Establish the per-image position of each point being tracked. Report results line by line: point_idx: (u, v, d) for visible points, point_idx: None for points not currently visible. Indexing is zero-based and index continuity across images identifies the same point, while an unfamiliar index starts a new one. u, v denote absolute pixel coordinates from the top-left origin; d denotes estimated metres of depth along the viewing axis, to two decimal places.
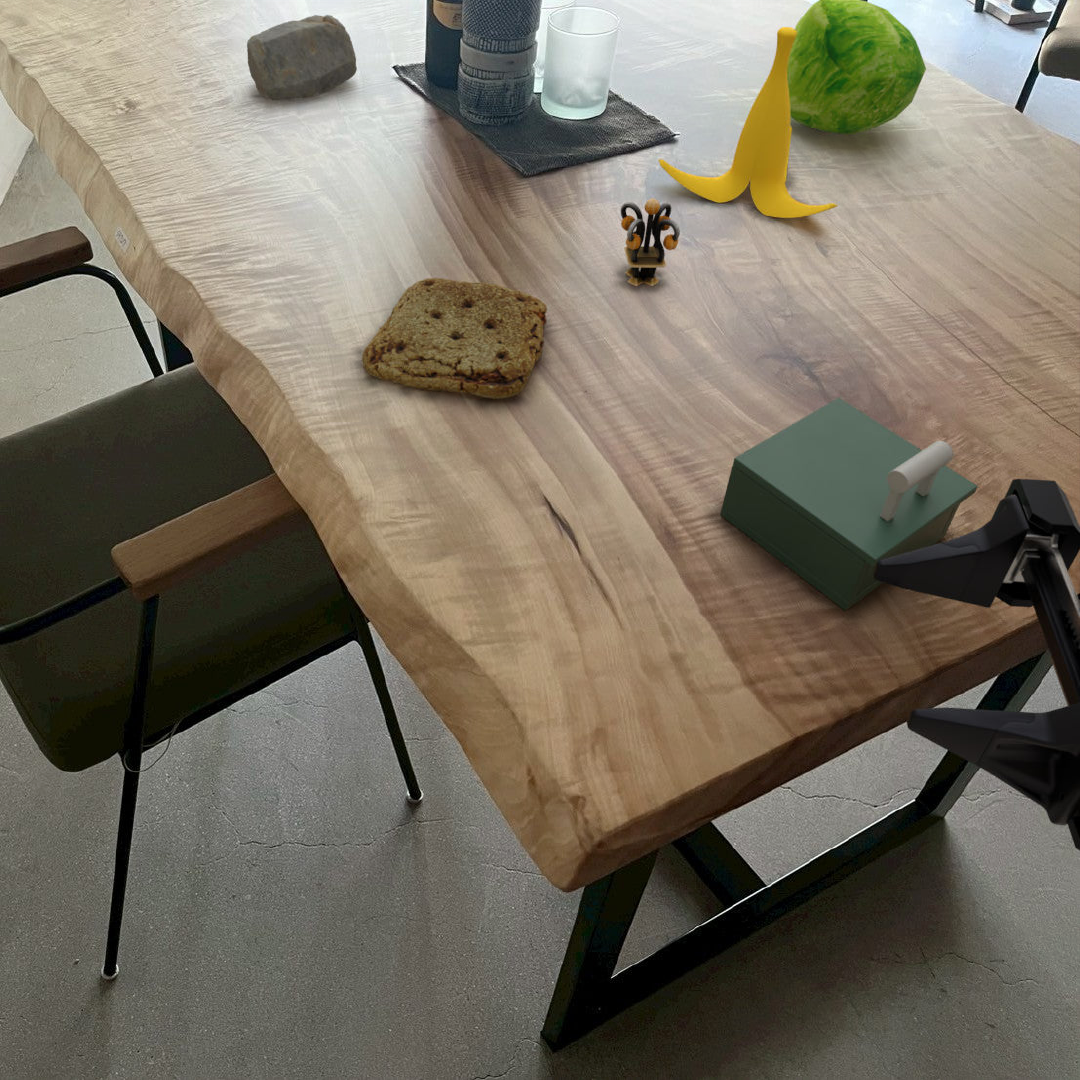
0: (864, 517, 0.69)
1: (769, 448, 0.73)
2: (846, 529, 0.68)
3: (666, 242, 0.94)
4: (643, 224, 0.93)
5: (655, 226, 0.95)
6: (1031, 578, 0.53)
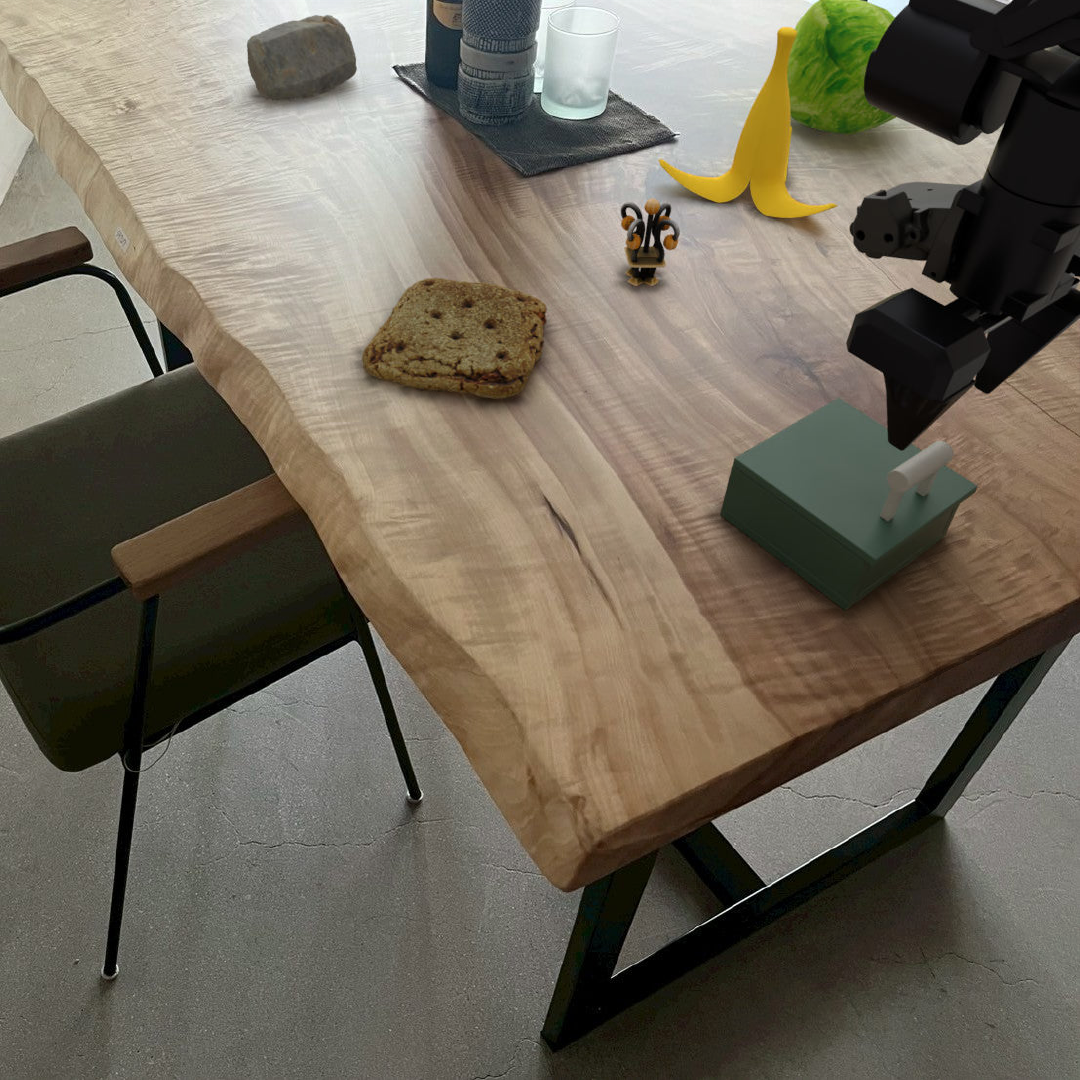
0: (864, 517, 0.69)
1: (769, 448, 0.73)
2: (846, 529, 0.68)
3: (666, 242, 0.94)
4: (643, 224, 0.93)
5: (655, 226, 0.95)
6: None
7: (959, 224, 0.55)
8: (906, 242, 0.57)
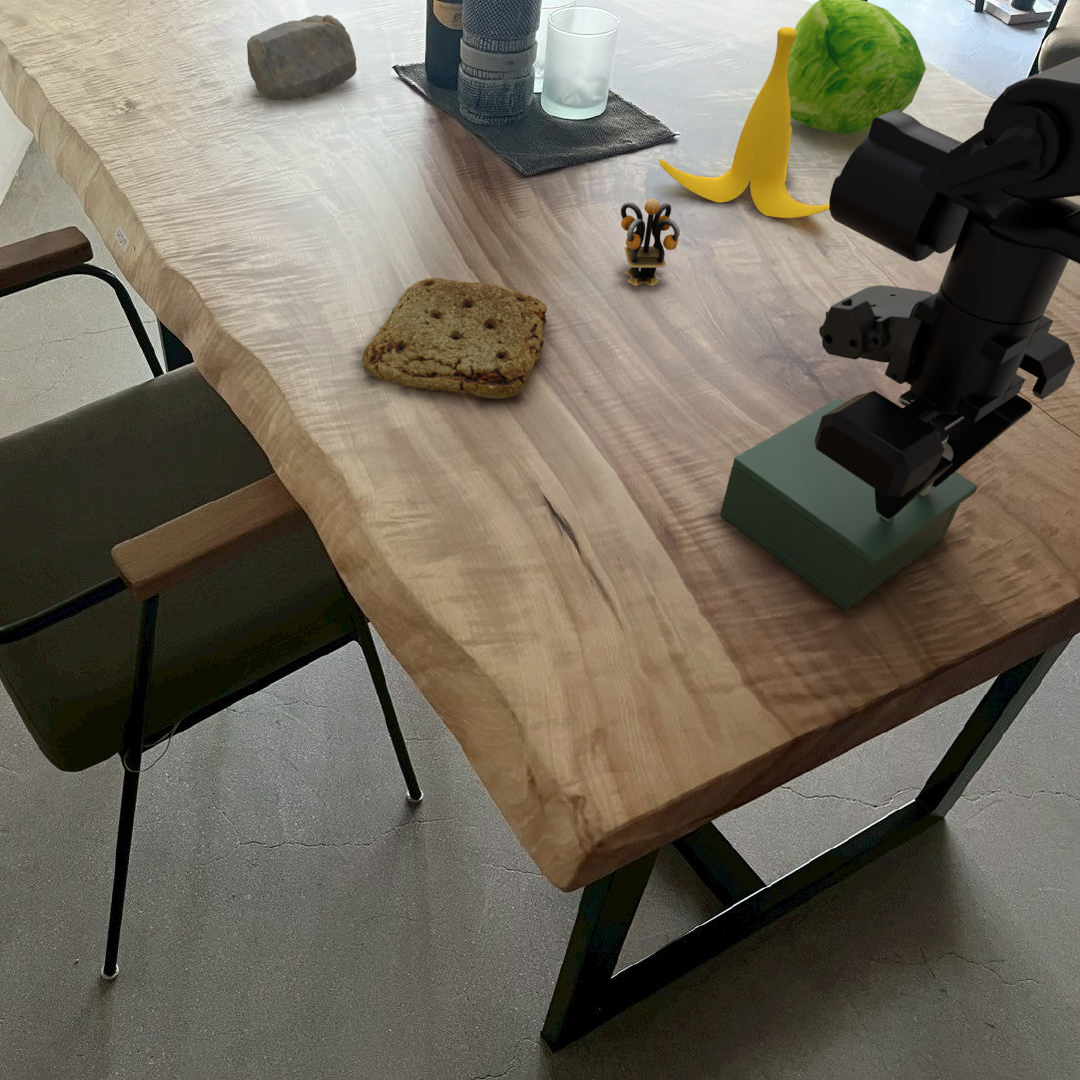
0: (864, 517, 0.69)
1: (769, 448, 0.73)
2: (846, 529, 0.68)
3: (666, 242, 0.94)
4: (643, 224, 0.93)
5: (655, 226, 0.95)
6: None
7: (917, 333, 0.61)
8: (869, 347, 0.62)
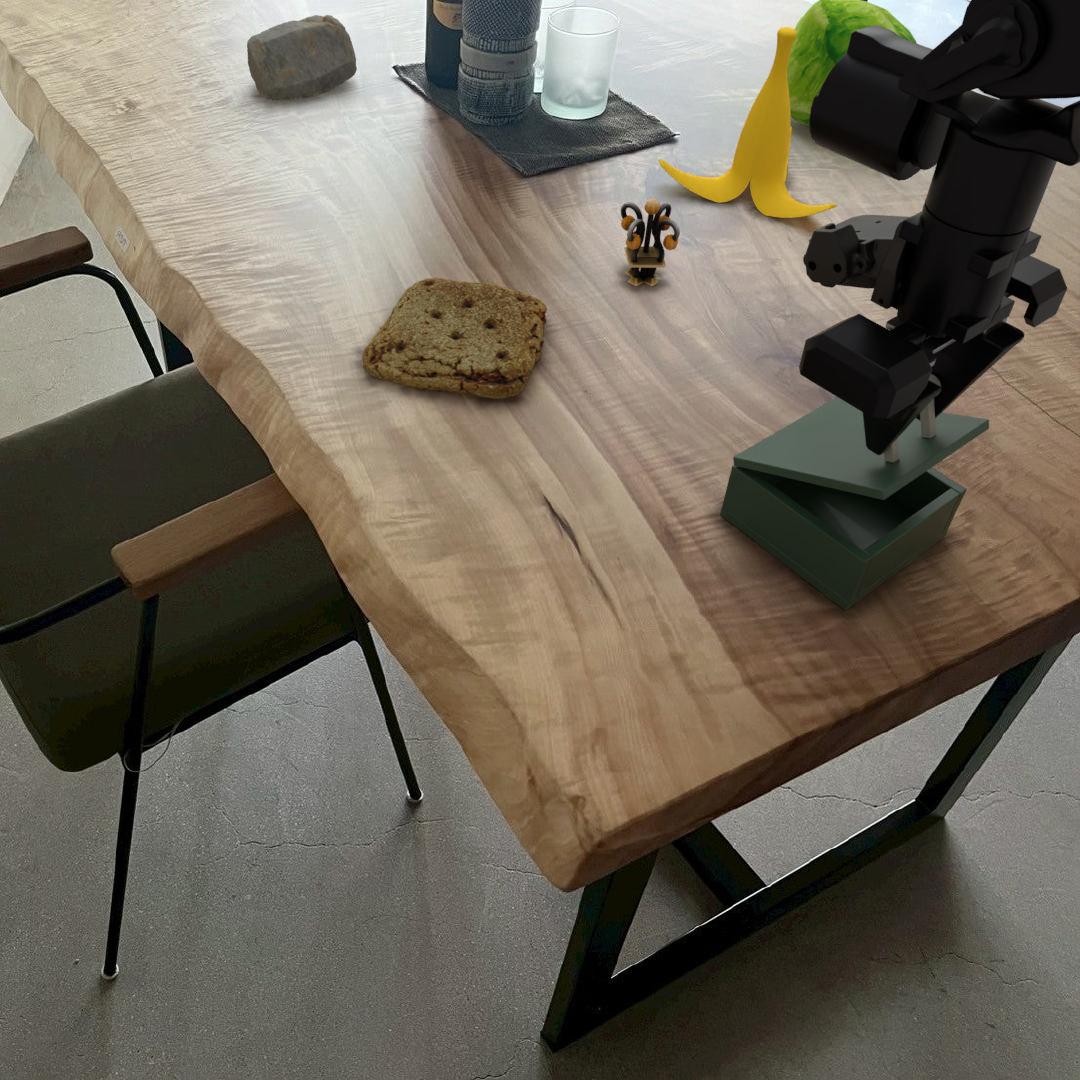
0: (868, 465, 0.67)
1: (768, 443, 0.73)
2: (850, 477, 0.66)
3: (666, 242, 0.94)
4: (643, 224, 0.93)
5: (655, 226, 0.95)
6: None
7: (901, 254, 0.59)
8: (854, 271, 0.61)
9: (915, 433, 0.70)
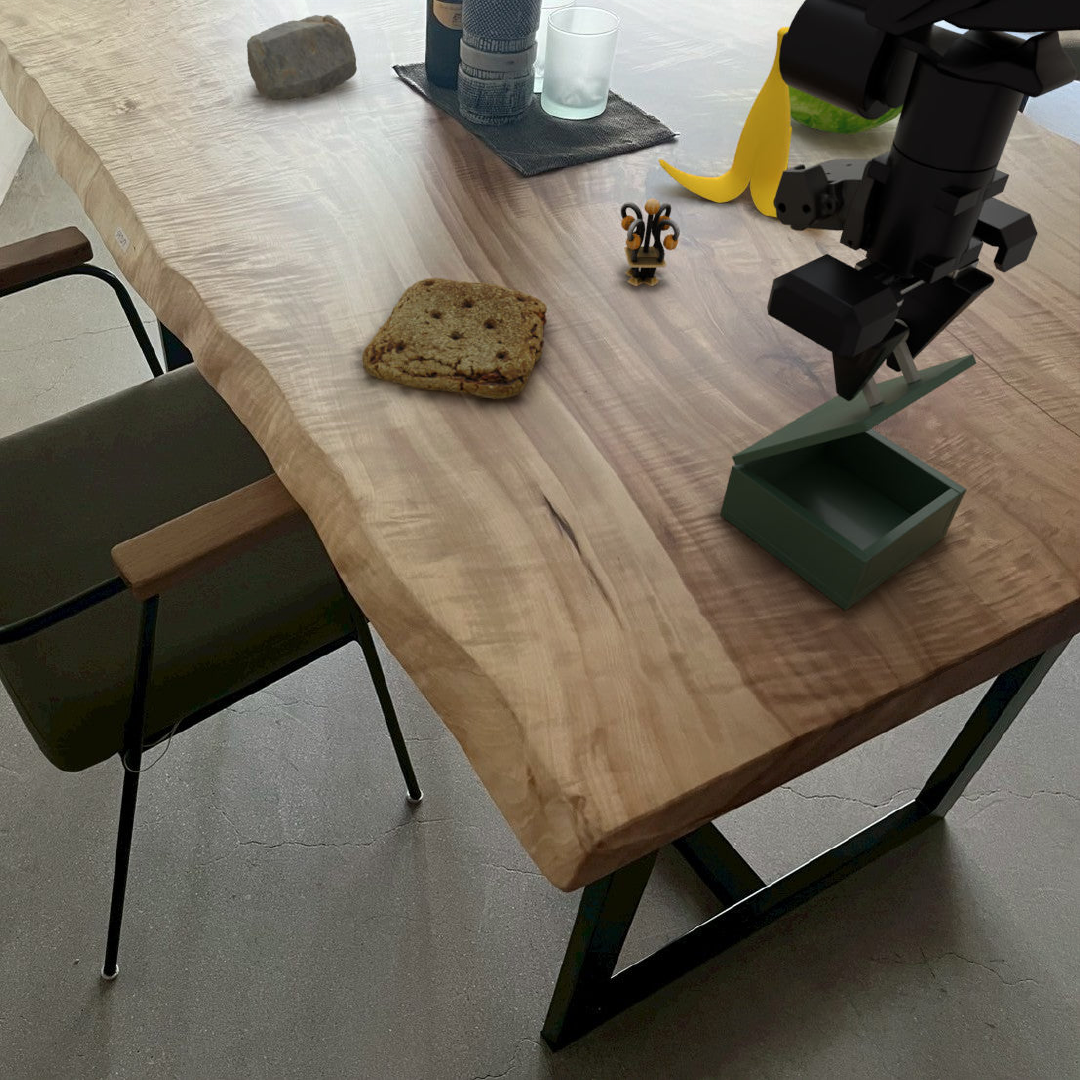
0: (853, 414, 0.66)
1: (765, 439, 0.73)
2: (835, 426, 0.65)
3: (666, 242, 0.94)
4: (643, 224, 0.93)
5: (655, 226, 0.95)
6: None
7: (870, 193, 0.59)
8: (823, 212, 0.61)
9: (901, 385, 0.69)
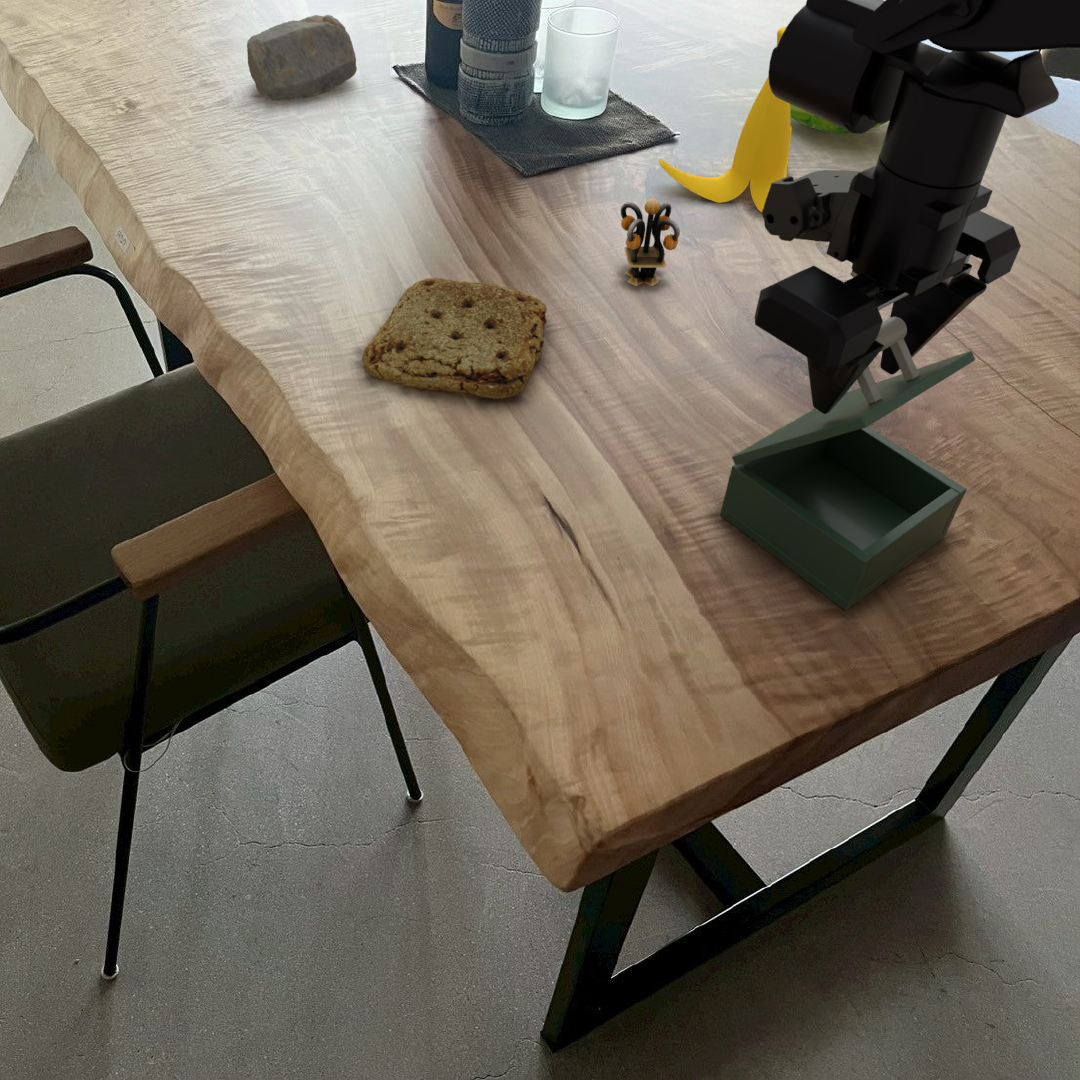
0: (852, 412, 0.66)
1: (765, 439, 0.73)
2: (833, 423, 0.65)
3: (666, 242, 0.94)
4: (643, 224, 0.93)
5: (655, 226, 0.95)
6: None
7: (856, 206, 0.60)
8: (810, 224, 0.62)
9: (900, 382, 0.69)
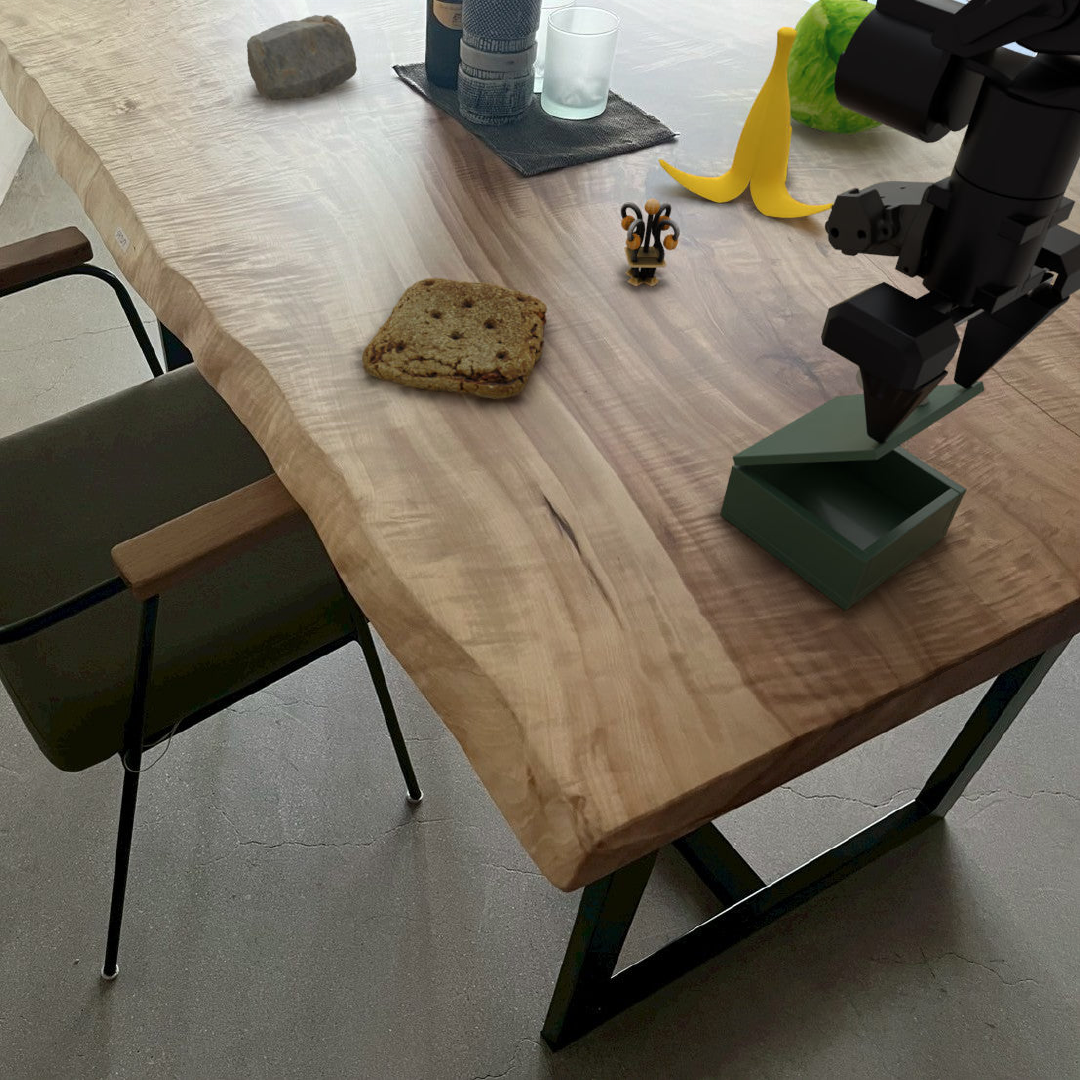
0: (862, 435, 0.66)
1: (766, 441, 0.73)
2: (843, 447, 0.65)
3: (666, 242, 0.94)
4: (643, 224, 0.93)
5: (655, 226, 0.95)
6: None
7: (929, 219, 0.57)
8: (879, 238, 0.59)
9: None
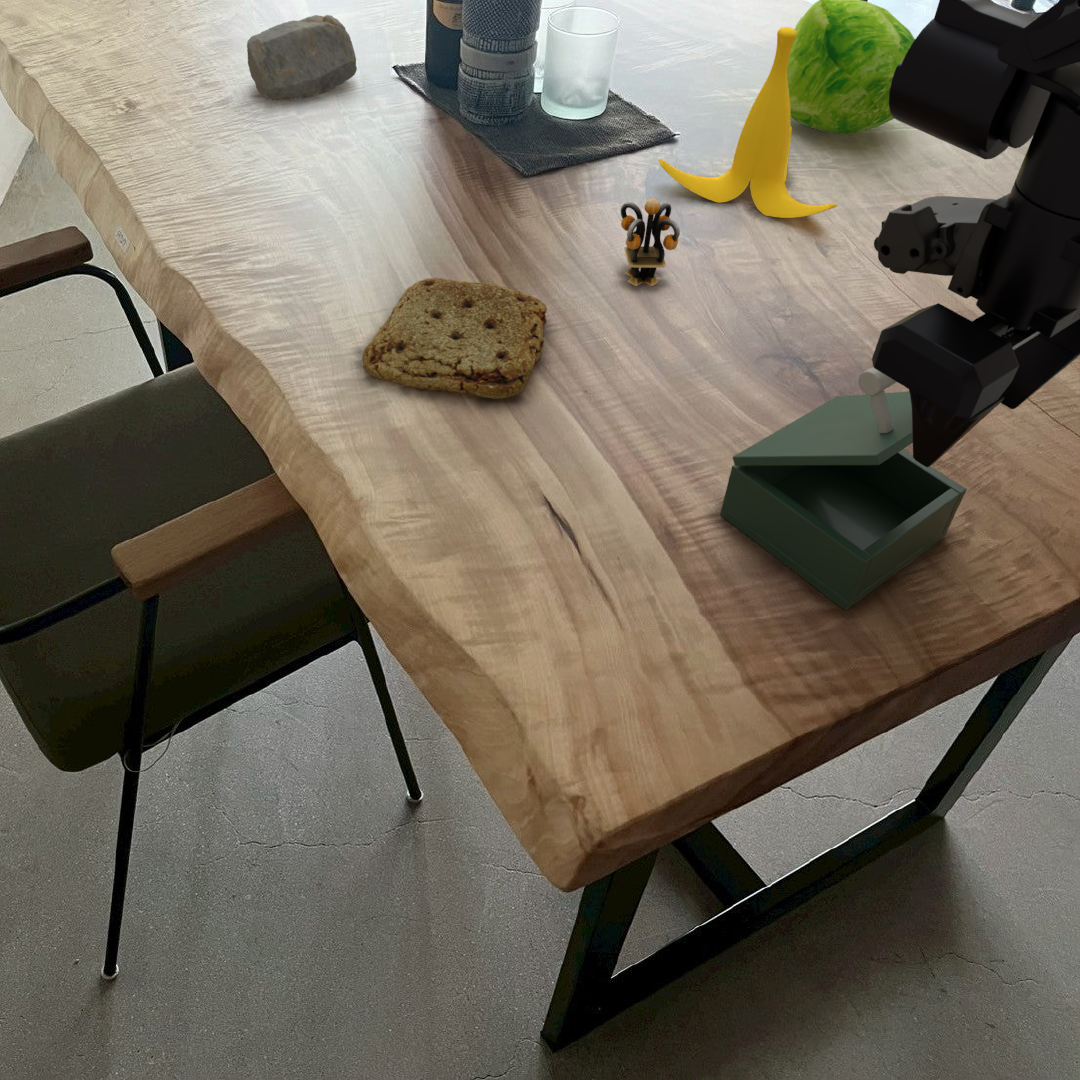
0: (863, 439, 0.66)
1: (766, 441, 0.73)
2: (844, 451, 0.65)
3: (666, 242, 0.94)
4: (643, 224, 0.93)
5: (655, 226, 0.95)
6: None
7: (986, 239, 0.55)
8: (932, 257, 0.57)
9: (910, 408, 0.69)
